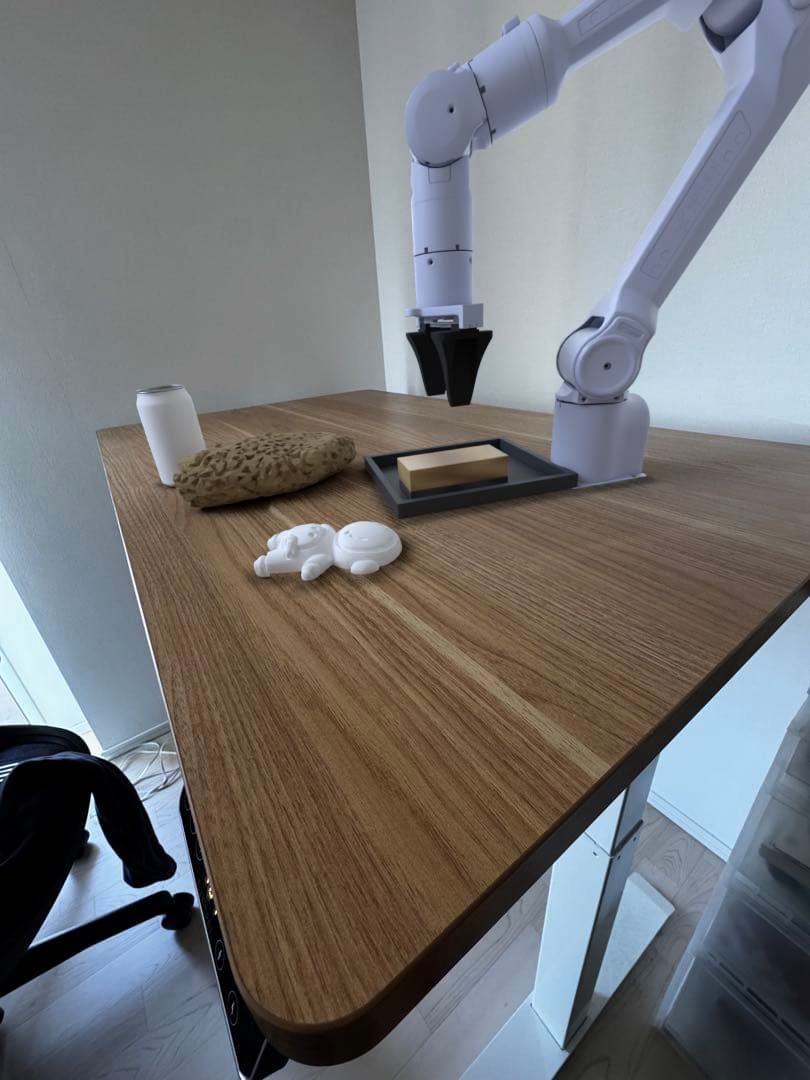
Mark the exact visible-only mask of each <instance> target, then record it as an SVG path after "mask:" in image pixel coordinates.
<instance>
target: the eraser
mask: <svg viewBox="0 0 810 1080" xmlns="http://www.w3.org/2000/svg"><path fill="white" fill-rule="evenodd" d="M397 461H398V474H399V487H400V489H401V490H402V491H403V492H404V494H405V495H406V496H407V498H408V499H415V498H421V497H427V496H432V495H438V494H444V493H450V492H456V491H462V490H468V489H474V488H480V487H486V486H492V485H498V484H504V483H508V462H509V456H508V455H507V454H505V453H503V452H501V451H500V450H498V449H496V448H494V447H492V446H491V445H482V446H475V447H468V448H461V449H455V450H448V451H441V452H434V453H427V454H421V455H414V456H407V457H400V458H397Z"/></svg>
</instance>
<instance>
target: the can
mask: <svg viewBox="0 0 810 1080" xmlns="http://www.w3.org/2000/svg"><path fill="white" fill-rule="evenodd" d="M185 387H186V385H185V384H168V385H167V384H166V385H159V386H152V387H145V388H140V389H137V390H135V393H136V396H137V397H136V402H135V403H136V404H135V405H136V409H137V412H138V415H139V419H140V421H141V425H142V428H143V431H144V434H145V436H146V440H147V443H148V445H149V448H150V451H151V454H152V458H153V460H154V463H155V467H156V469H157V472H158V475H159V478H160V480H161V483H162V484H164V485H165V486H167V487H170V488H176V487H175V483H174V480H173V476H174V474H177V473H178V468H179V467H178V463H179V462H180V460H181V459H182V458H183V457H189V456H191V455H193V454H194V453H199V452H201V451H203V450H207V446H206V444H205V439H204V436H203V432H202V429H201V426H200V422H199V417H198V414H197V411H196V408H195V405H194V402H193V401H194V400H193V398H192V396H191V395H190V393H189V392H188V391H187V390H186V388H185Z"/></svg>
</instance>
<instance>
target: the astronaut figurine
mask: <svg viewBox="0 0 810 1080" xmlns="http://www.w3.org/2000/svg"><path fill="white" fill-rule="evenodd" d="M266 546H267V549H268V550H269V551H268V552H266V555H263V554H262V555H260V556H259V557H258V558H257V559H256V560H255V561H254V562H253V569H254V572H255V574H256V575H257V576H258V577H260V578H271V574H289V573H301V574H300V576H301V580H302V581H304V582H309V581H312V580H315V579H316V578H318V577H319V576H320V575H322V574H323V573H325V572H326V570H328V569H329V568H330V567H331V566H335V567H338V568H341V569H344V570H345V569H346V570H350V572H351V574H354V575H369V574H373V573H376V572H377V571H379V570H380V567H385V566H386V565H389V564H390V563H392V562H393V561H395V560H396V559H397V558H398V557H399V556H400V555H401V552H402V549H403V545H402V541H401V539H400V537H399V535H398V534H397V533H396V531H394V530H393V529H392V528H390V527H388V526H387V525H385V524H383V523H381V522H375V521H367V520H366V521H365V520H362V521H361V520H360V521H355V522H352V523H349V524H347V525H345V526H344V527H343V528H341V529H340V530H337V531H336V530H335V528H333V526H331V525H330V524H328V523H322V524H318V523H307V524H300V525H297V526H293V527H292V528H290V529H286V530H283V531H281V532H279V533H276V534H274V535H272V536H271V537H270V538H269V539H268V540H267V545H266Z"/></svg>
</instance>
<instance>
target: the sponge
mask: <svg viewBox="0 0 810 1080" xmlns="http://www.w3.org/2000/svg"><path fill="white" fill-rule="evenodd" d="M356 456H357V450H356V442H355V440H354V439H353V438H351V437H349V436H346V435H343V434H340V433H335V432H331V431H303V432H302V431H301V432H294V431H293V432H291V431H290V432H278V433H270V432H268V433H265V434H261V435H257V436H251V437H249V438H246V439H243V440H242V441H234V442H232V443H229V444H227V443H224V442H221V443H217V444H215V445H213V446H211V447H210V448H208V449H206V450H203V451H201V452H199V453H194V454H193V455H191V456H189V457H183V458H182V459H181V460H180V462H179V463H178V467H179V468H178V473H177V474H174V476H173V480H174V483H175V487H174V488H175V489H176V492H177V494H179V496H181V498H182V500H183V501H184V502H185V503H186V504H187V505H188V506H189V507H191V508H199V509H201V508H202V509H203V508H209V507H216V506H224V505H229V504H236V503H239V502H243V501H247V500H248V501H249V500H250V501H251V500H256V499H258V498H261V497H262V498H264V497H266V498H267V497H268V498H269V497H272V496H276V495H281V494H289V493H293V492H296V491H298V490H301V489H305V488H307V487H311V486H313V485H316V484H317V483H319V482H321V481H323V480H325V479H327V478H329V477H332V476H333V475H336V474H338V473H340V472H341V471H343V470H344V469H346V468H347V467H348V465H350V464H352V463H353V462H354V460H355V458H356Z"/></svg>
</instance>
